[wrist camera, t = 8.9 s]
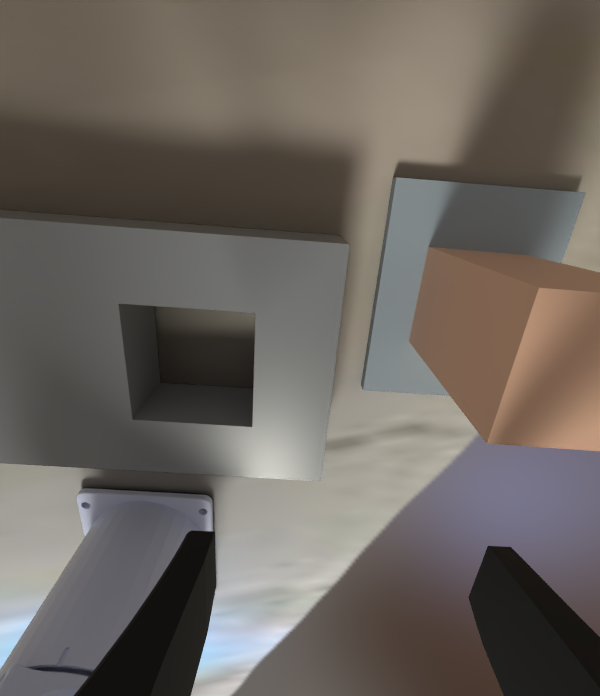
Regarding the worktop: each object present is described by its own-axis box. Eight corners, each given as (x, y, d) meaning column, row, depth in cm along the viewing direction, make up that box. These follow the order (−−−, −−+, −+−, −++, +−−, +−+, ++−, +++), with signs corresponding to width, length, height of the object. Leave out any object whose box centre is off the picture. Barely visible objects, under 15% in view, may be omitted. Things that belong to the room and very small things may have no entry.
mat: (508, 394, 20) (514, 399, 19) (361, 384, 19) (363, 390, 19) (575, 193, 16) (585, 192, 15) (392, 178, 15) (396, 177, 15)
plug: (498, 348, 18) (640, 453, 10) (408, 341, 18) (486, 443, 10) (527, 255, 16) (721, 302, 9) (428, 246, 16) (538, 287, 9)
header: (317, 436, 21) (321, 481, 17) (31, 419, 20) (-21, 461, 17) (339, 235, 16) (349, 244, 13) (-22, 207, 16) (-104, 210, 13)
